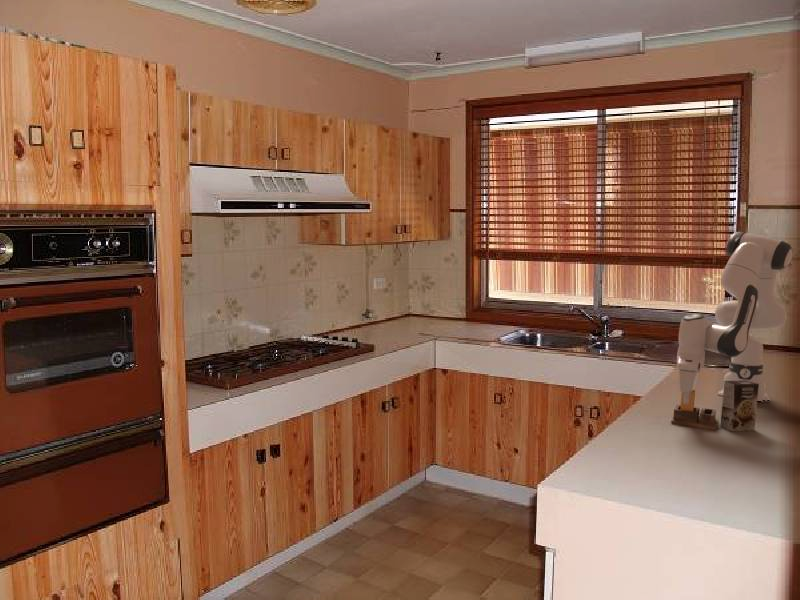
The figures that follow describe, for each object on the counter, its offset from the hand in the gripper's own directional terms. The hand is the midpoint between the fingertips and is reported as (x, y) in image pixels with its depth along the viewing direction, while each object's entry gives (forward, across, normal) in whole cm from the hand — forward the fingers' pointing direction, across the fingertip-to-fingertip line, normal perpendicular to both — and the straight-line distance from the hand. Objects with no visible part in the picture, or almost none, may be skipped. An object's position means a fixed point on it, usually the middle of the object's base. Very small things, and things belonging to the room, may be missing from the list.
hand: (687, 400), depth 247 cm
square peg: (+7, 0, 0) cm, 7 cm away
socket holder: (+8, 0, +3) cm, 8 cm away
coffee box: (+8, -1, +16) cm, 18 cm away
